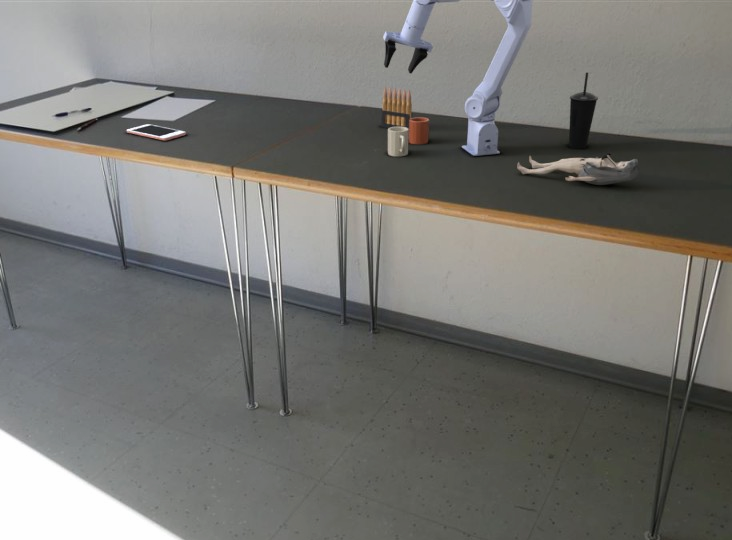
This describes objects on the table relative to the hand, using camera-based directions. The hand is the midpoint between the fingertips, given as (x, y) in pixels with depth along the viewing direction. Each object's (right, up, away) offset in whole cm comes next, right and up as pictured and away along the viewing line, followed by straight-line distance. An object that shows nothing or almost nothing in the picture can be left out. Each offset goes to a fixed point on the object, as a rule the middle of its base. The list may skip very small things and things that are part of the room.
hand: (397, 68), depth 232 cm
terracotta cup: (+6, -19, +6) cm, 21 cm away
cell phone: (-74, -13, +18) cm, 77 cm away
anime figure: (+44, -40, -29) cm, 66 cm away
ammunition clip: (+1, -12, +18) cm, 22 cm away
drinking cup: (+51, -23, -3) cm, 56 cm away
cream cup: (0, -27, -6) cm, 27 cm away
